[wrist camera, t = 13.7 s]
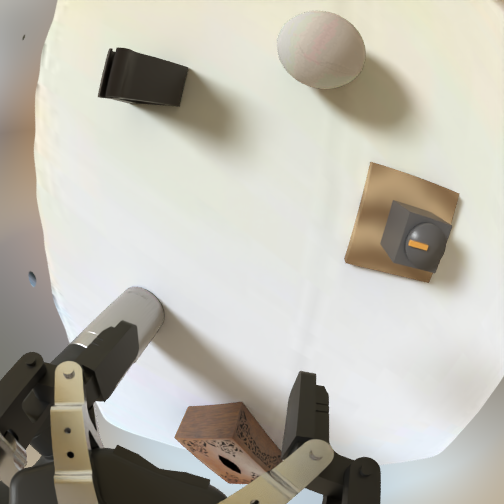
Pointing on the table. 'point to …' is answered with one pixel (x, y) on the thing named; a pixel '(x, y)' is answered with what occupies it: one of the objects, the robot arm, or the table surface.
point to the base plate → (377, 211)
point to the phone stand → (141, 79)
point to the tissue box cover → (228, 441)
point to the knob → (415, 237)
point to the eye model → (321, 49)
